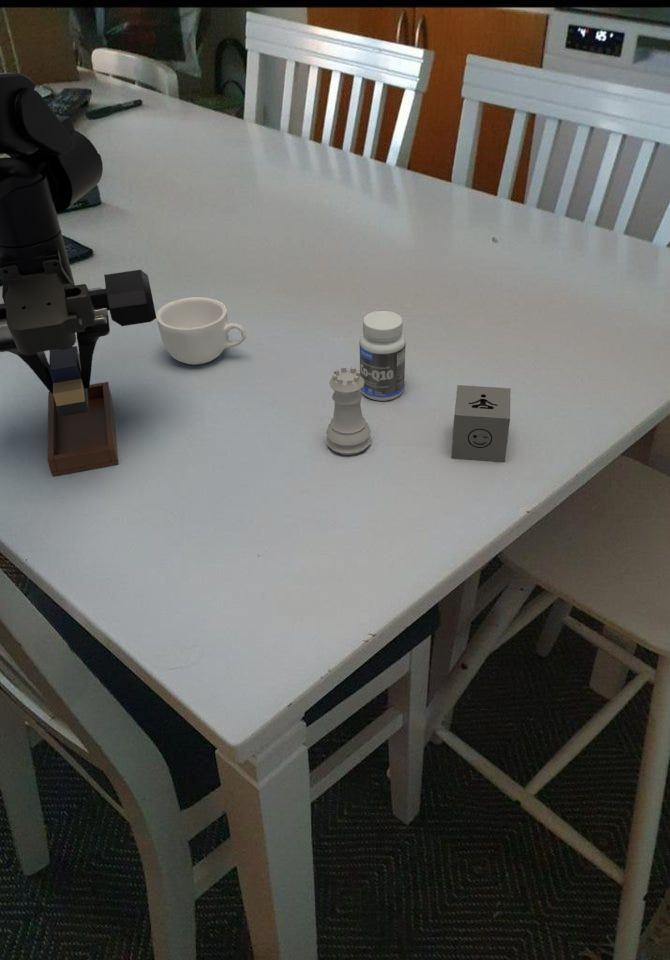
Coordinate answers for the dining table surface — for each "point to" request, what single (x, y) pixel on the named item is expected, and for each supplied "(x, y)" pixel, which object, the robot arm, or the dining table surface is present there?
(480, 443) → the dice cube
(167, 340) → the teacup
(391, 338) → the pill bottle
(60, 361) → the stacked boxes
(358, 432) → the rook chess piece
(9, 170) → the robot arm
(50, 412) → the tray
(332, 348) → the dining table surface
